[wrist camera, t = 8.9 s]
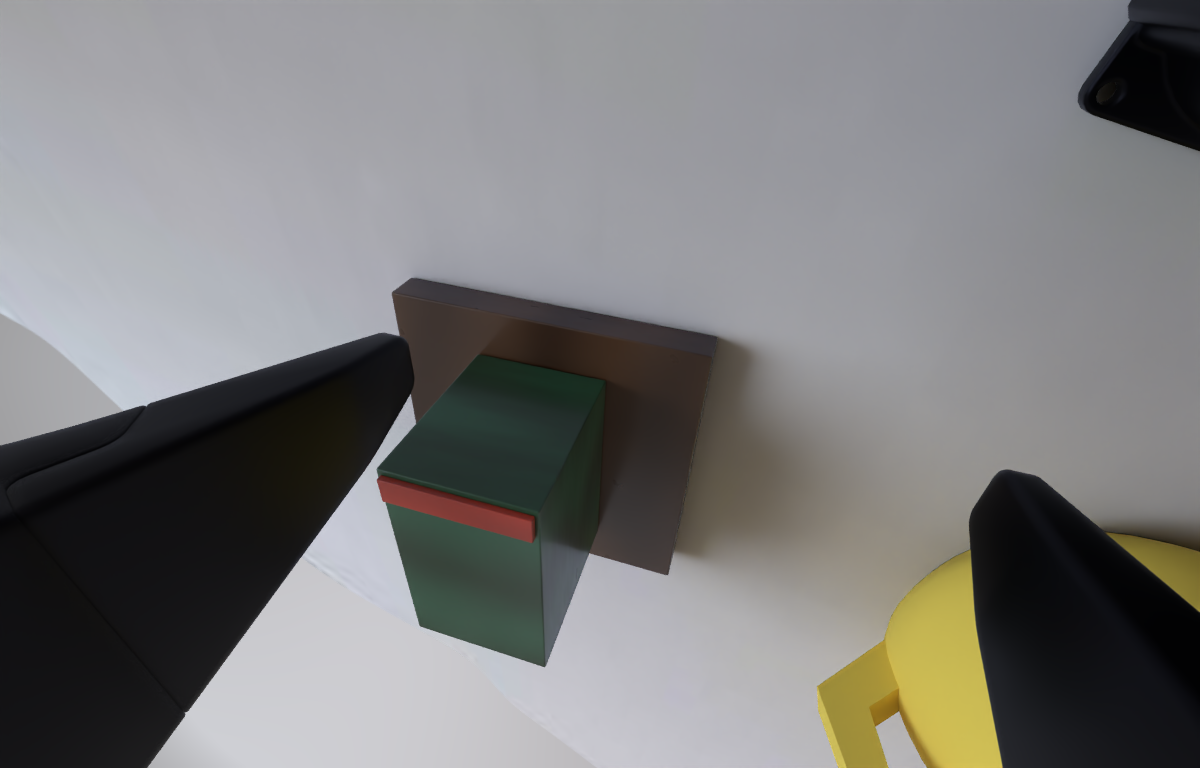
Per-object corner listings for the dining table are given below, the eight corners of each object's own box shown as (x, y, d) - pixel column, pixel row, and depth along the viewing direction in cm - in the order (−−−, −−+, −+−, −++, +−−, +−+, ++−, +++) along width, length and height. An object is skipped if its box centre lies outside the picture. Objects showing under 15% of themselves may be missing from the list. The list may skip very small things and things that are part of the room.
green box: (598, 530, 27) (542, 674, 22) (493, 502, 28) (416, 632, 23) (606, 380, 22) (536, 518, 16) (477, 353, 23) (370, 474, 17)
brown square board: (718, 336, 21) (712, 357, 20) (673, 552, 29) (667, 576, 28) (411, 277, 24) (390, 292, 23) (445, 489, 31) (431, 508, 30)
